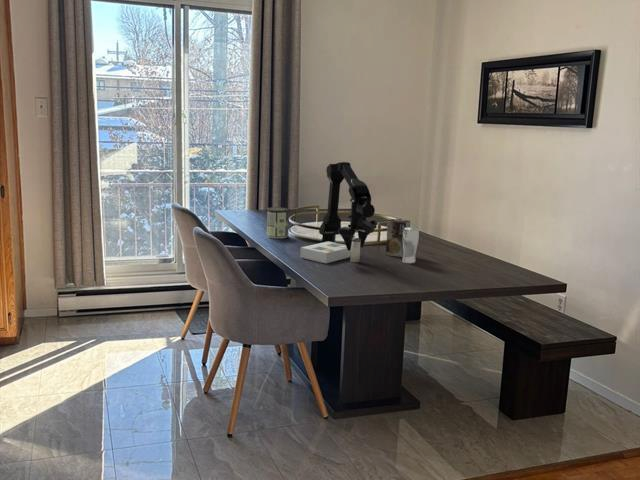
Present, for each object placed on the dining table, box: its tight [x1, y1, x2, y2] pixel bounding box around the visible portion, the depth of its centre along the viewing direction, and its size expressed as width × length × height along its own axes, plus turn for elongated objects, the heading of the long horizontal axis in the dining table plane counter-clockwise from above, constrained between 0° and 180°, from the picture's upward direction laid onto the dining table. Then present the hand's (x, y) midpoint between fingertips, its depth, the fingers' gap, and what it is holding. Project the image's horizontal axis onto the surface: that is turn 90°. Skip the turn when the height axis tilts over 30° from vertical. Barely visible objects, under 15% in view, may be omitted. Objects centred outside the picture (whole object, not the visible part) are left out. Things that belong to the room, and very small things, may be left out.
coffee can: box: [266, 206, 289, 239], centre depth 328 cm, size 10×10×14 cm
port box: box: [299, 241, 351, 264], centre depth 291 cm, size 20×14×5 cm
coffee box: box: [385, 218, 411, 258], centre depth 300 cm, size 9×6×16 cm
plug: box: [349, 237, 361, 263], centre depth 285 cm, size 4×4×10 cm
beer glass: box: [401, 226, 420, 265], centre depth 287 cm, size 7×7×15 cm
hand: (355, 248), depth 285 cm, fingers open, 9 cm apart
